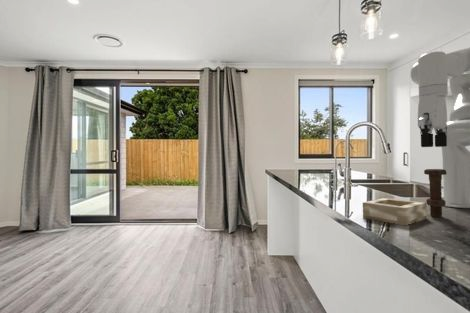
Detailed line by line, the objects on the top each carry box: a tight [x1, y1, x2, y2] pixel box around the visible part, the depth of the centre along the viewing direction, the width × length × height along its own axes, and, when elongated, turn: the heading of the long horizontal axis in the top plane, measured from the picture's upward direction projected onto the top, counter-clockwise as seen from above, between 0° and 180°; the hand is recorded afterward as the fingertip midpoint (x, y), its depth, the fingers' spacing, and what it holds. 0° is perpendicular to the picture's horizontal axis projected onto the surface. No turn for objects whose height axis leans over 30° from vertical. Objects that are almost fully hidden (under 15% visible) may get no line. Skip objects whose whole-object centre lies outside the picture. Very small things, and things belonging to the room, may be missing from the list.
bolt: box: [423, 168, 446, 218], centre depth 90 cm, size 6×5×15 cm
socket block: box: [362, 197, 428, 227], centre depth 90 cm, size 13×13×5 cm
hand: (434, 146), depth 90 cm, fingers open, 9 cm apart
